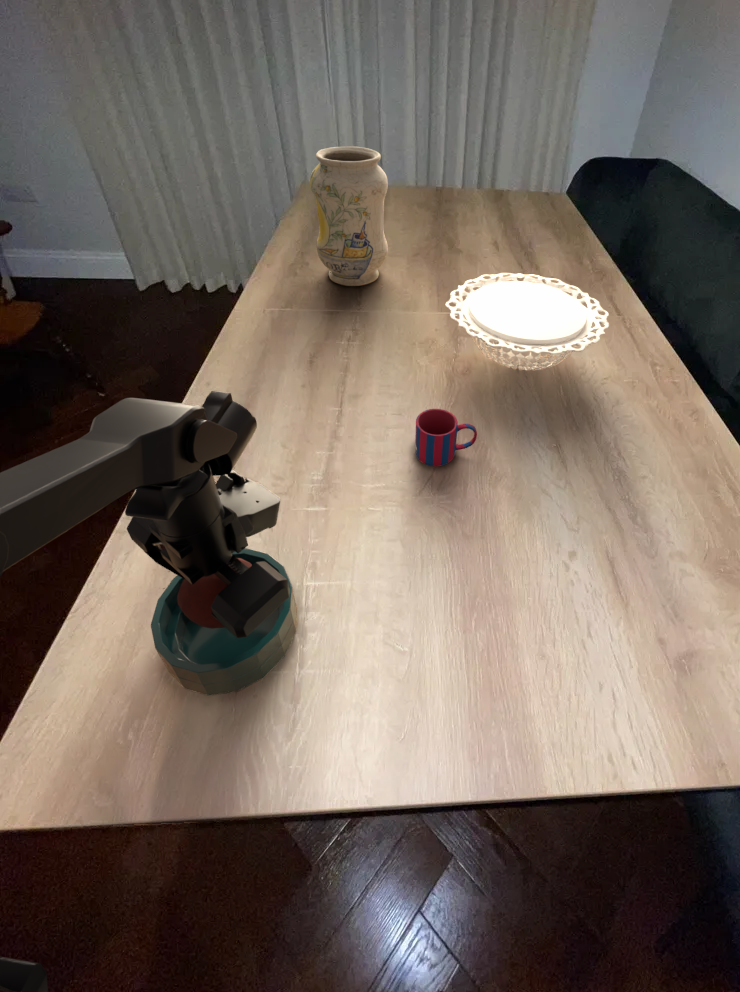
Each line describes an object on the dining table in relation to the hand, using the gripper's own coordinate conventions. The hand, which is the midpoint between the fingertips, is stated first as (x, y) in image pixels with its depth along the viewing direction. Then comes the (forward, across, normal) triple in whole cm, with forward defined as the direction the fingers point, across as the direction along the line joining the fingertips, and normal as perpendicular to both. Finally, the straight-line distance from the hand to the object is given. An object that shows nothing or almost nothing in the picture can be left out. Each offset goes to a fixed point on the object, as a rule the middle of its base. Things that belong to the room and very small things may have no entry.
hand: (222, 602), depth 59 cm
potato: (+2, 0, 0) cm, 2 cm away
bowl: (+6, 0, 0) cm, 7 cm away
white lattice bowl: (+6, +2, -72) cm, 72 cm away
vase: (+6, +55, -78) cm, 96 cm away
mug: (+6, -2, -40) cm, 41 cm away
